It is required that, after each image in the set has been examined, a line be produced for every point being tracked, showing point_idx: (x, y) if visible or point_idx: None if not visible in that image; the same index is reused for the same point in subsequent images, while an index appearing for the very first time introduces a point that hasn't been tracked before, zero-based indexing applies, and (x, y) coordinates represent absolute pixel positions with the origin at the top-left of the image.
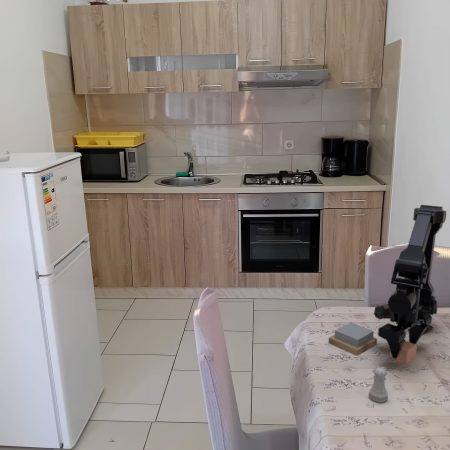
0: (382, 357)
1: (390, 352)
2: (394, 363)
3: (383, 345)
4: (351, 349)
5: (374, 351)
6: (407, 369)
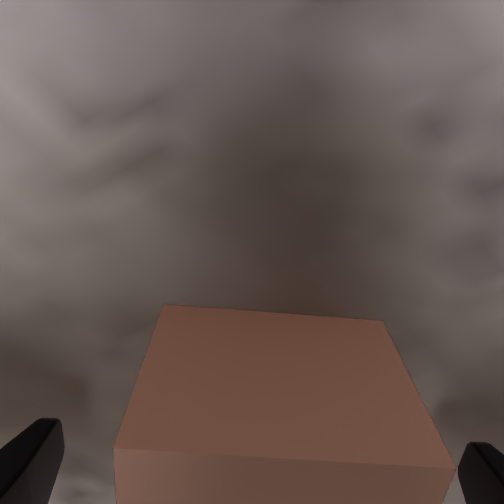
0: (70, 250)
1: (152, 341)
2: (70, 392)
3: (399, 98)
4: None
5: (122, 85)
6: (78, 497)
